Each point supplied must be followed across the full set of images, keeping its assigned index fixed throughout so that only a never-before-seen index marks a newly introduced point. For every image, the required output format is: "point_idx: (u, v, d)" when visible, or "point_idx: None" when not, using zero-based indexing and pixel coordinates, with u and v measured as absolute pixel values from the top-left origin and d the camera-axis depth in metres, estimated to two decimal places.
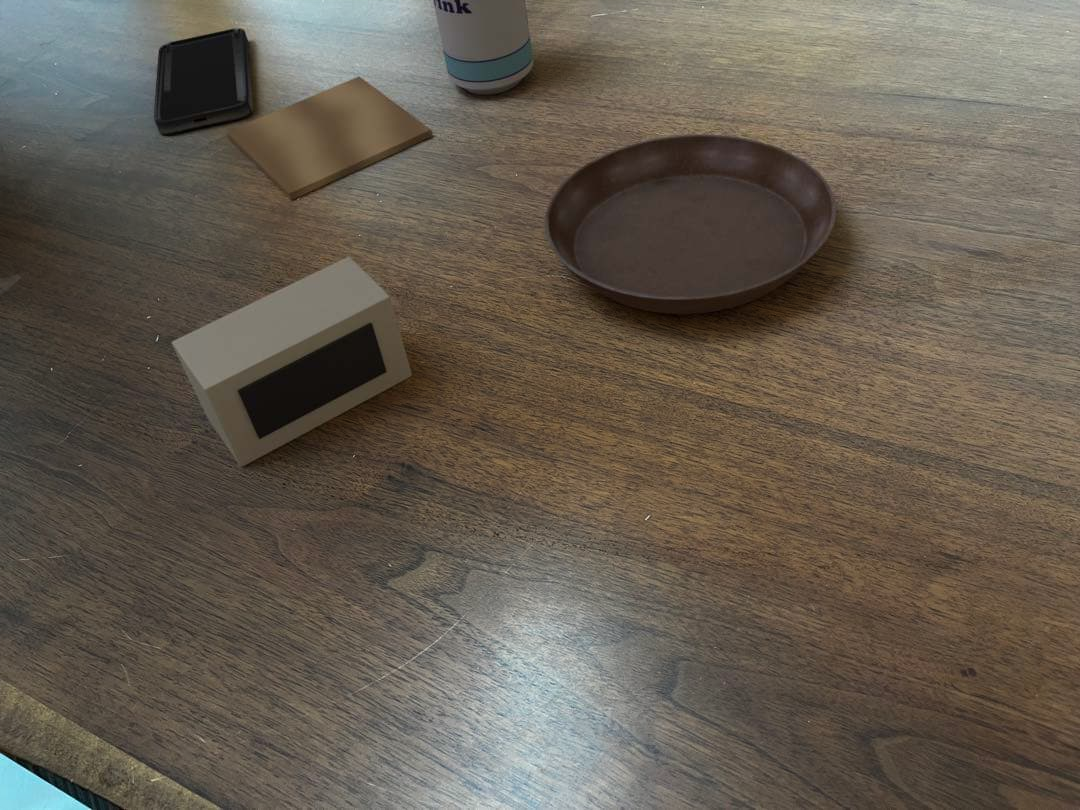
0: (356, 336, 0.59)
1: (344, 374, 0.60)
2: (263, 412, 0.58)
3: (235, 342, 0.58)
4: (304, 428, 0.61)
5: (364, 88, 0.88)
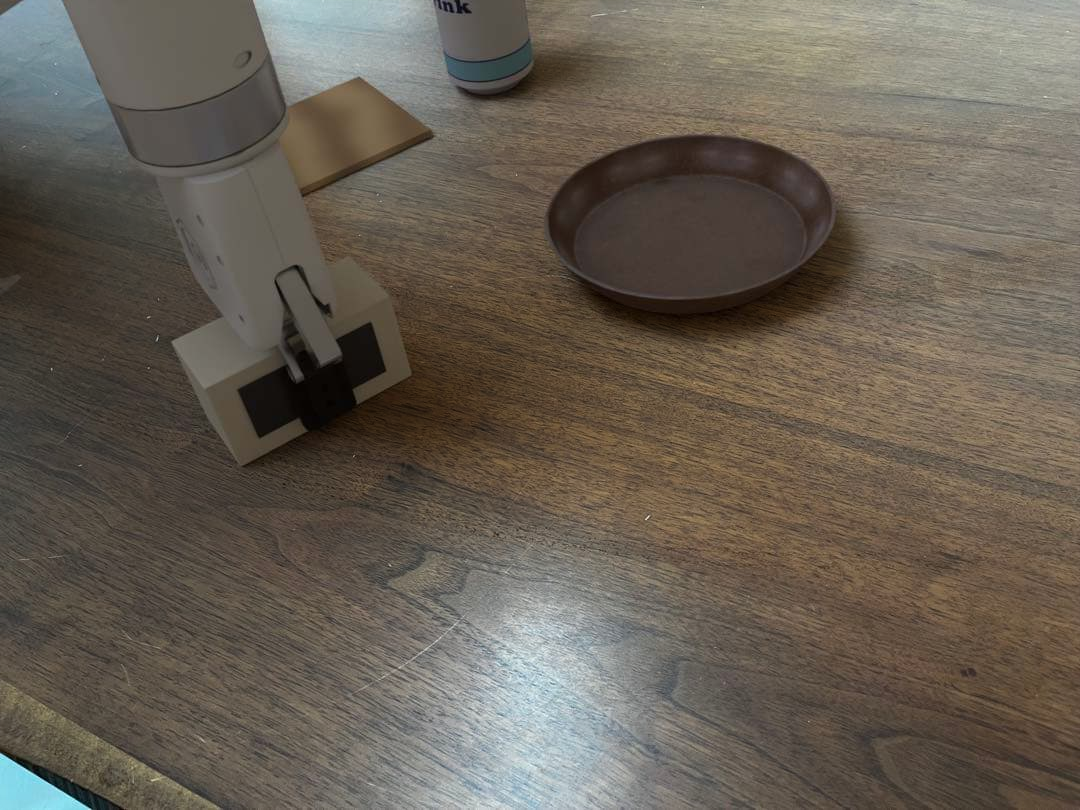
0: (356, 336, 0.59)
1: None
2: (263, 411, 0.58)
3: (235, 341, 0.58)
4: (304, 427, 0.61)
5: (364, 88, 0.88)
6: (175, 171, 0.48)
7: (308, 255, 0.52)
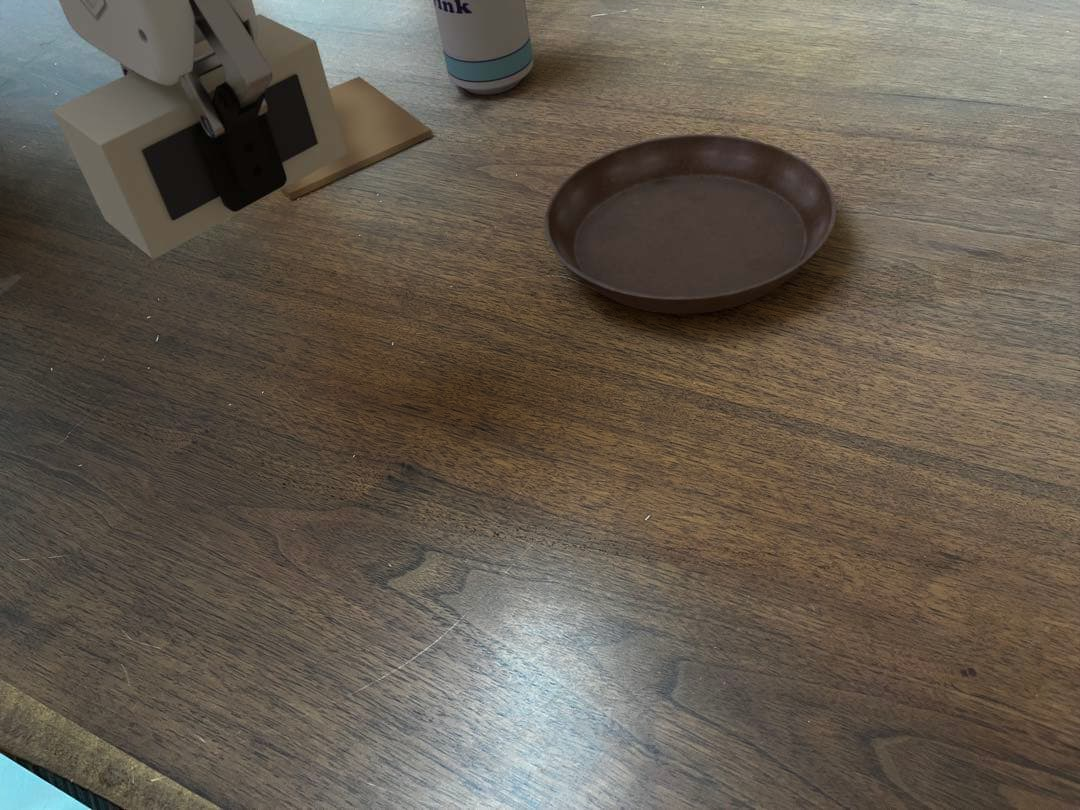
0: (280, 90, 0.50)
1: None
2: (175, 183, 0.48)
3: (132, 99, 0.48)
4: (226, 212, 0.51)
5: (364, 88, 0.88)
6: None
7: None
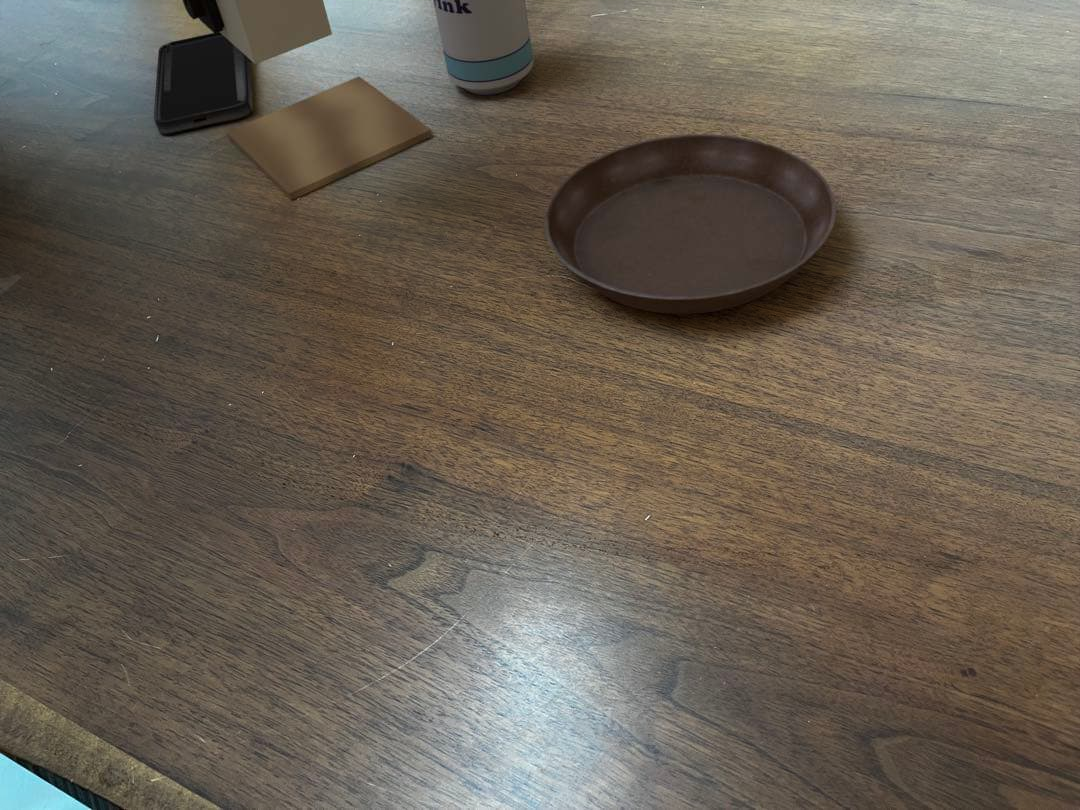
0: None
1: None
2: None
3: None
4: None
5: (364, 88, 0.88)
6: None
7: None
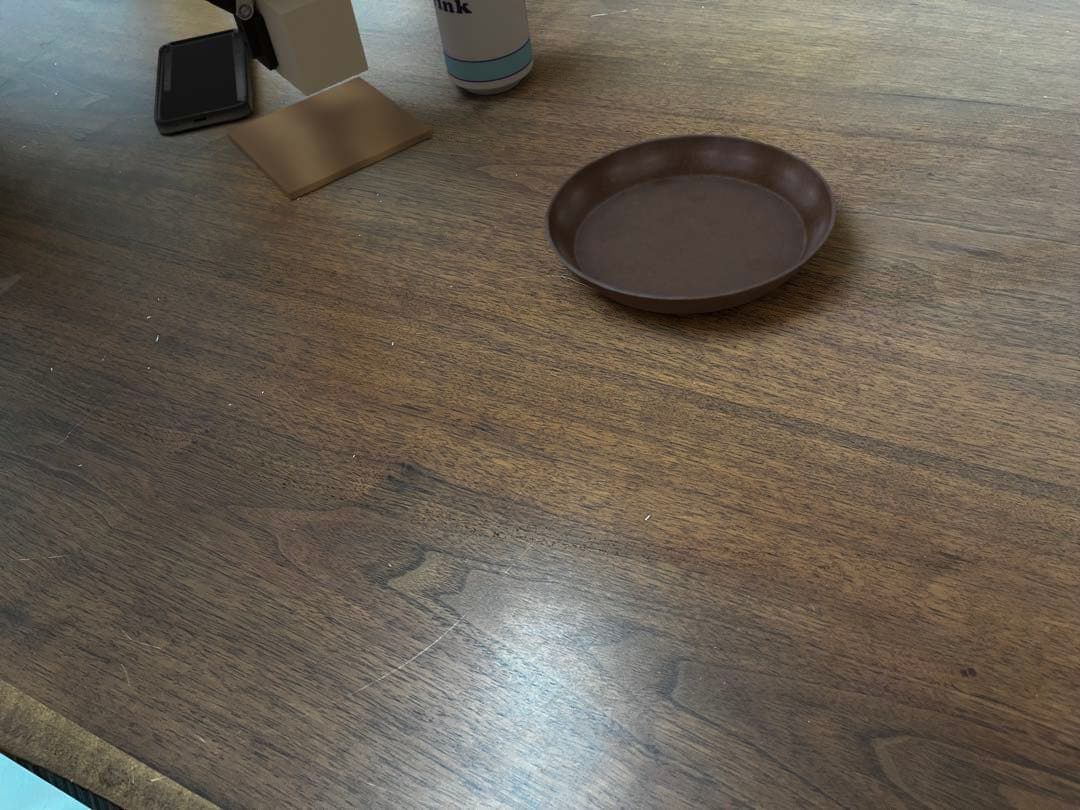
0: None
1: None
2: None
3: None
4: None
5: (364, 88, 0.88)
6: None
7: None
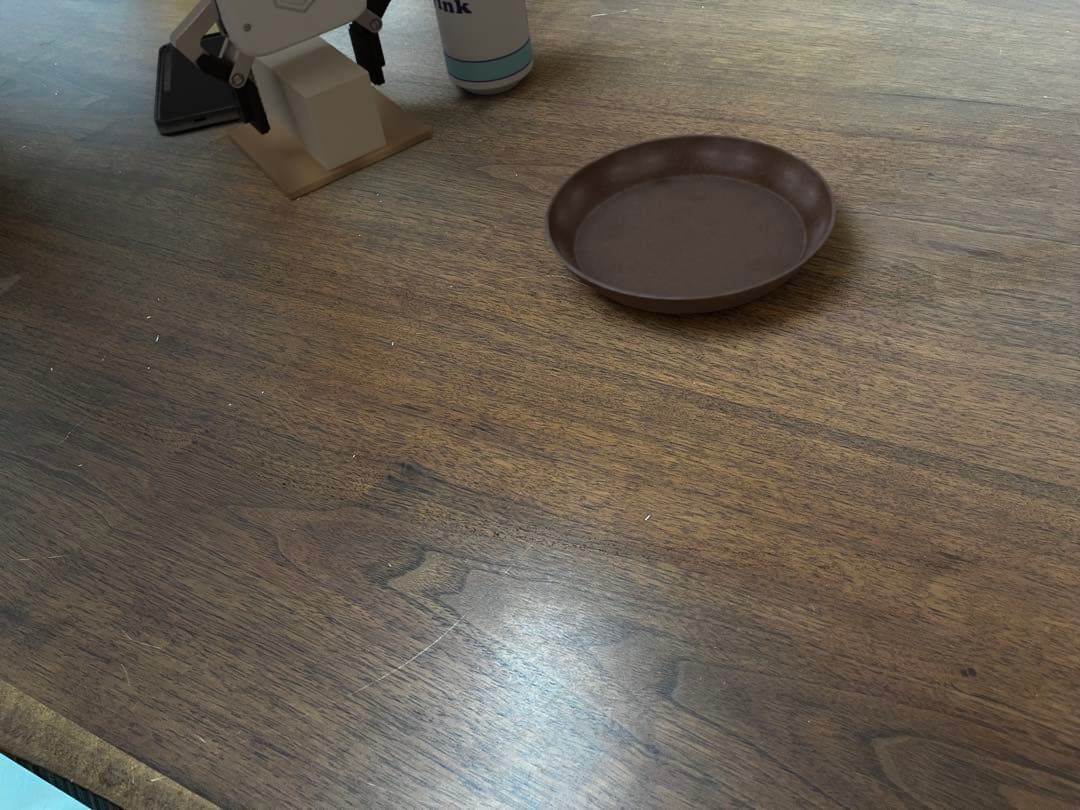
0: None
1: None
2: None
3: (321, 71, 0.78)
4: None
5: None
6: None
7: None
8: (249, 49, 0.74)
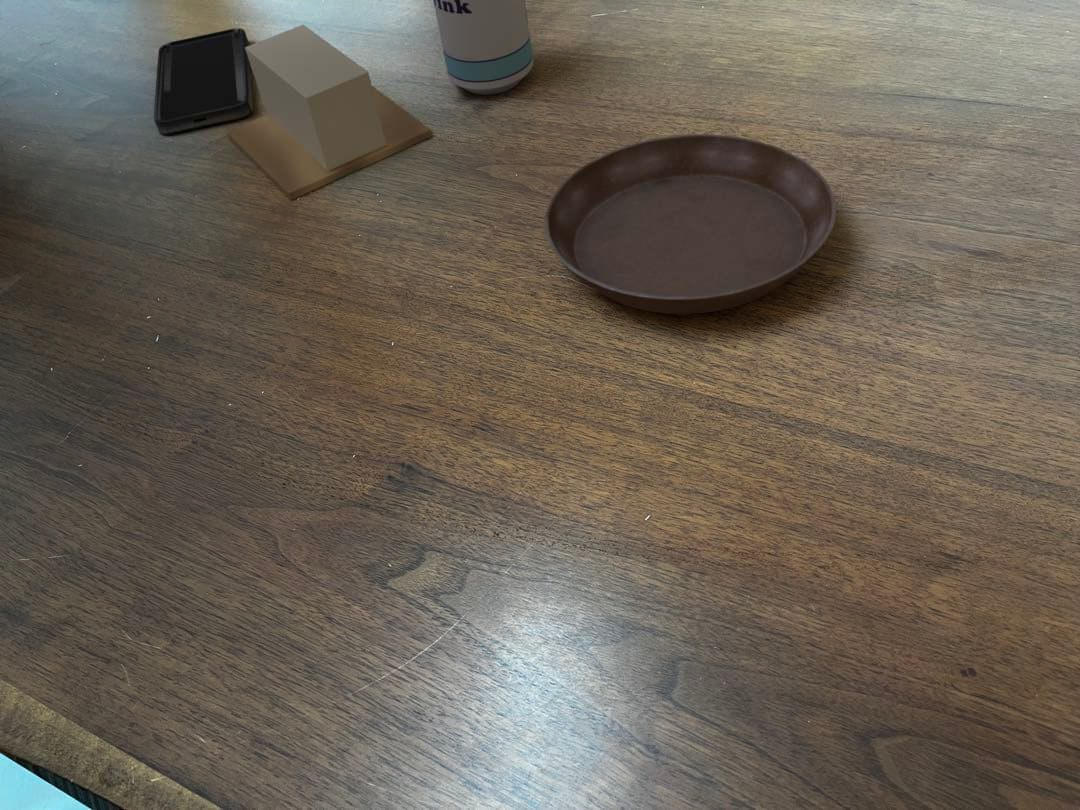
0: None
1: None
2: None
3: (321, 71, 0.78)
4: None
5: None
6: None
7: None
8: None
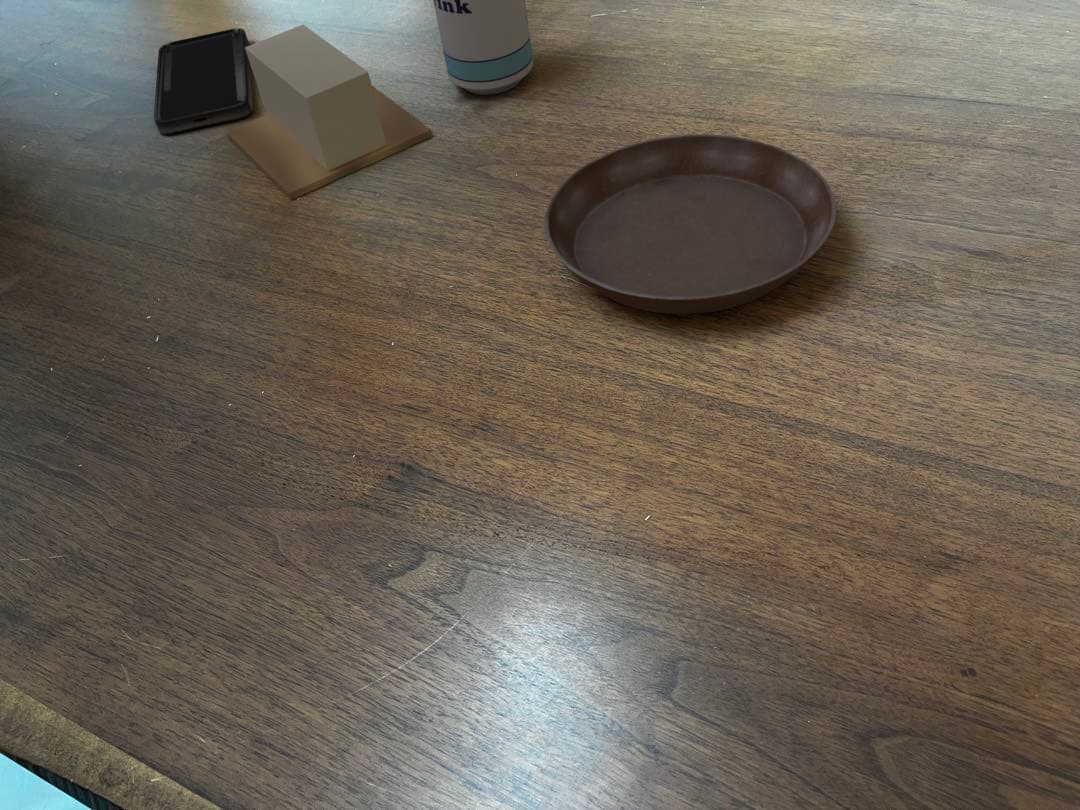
0: None
1: None
2: None
3: (321, 71, 0.78)
4: None
5: None
6: None
7: None
8: None
